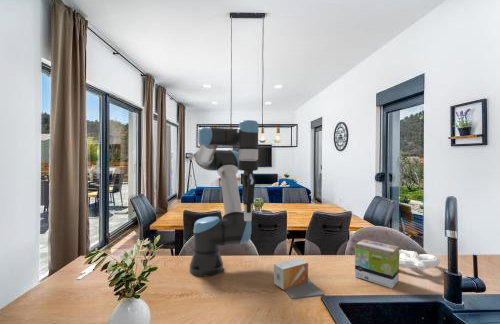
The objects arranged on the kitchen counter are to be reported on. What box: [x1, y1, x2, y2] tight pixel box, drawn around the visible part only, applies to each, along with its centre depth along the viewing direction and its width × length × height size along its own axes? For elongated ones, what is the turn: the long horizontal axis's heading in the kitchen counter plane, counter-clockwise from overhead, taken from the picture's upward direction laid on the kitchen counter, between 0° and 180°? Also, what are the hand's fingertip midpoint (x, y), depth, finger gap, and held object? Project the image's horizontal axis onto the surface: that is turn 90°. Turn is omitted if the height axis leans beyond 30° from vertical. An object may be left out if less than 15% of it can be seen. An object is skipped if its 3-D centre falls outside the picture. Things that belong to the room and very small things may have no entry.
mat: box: [284, 277, 325, 299], centre depth 102 cm, size 15×13×1 cm
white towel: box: [399, 248, 441, 271], centre depth 125 cm, size 28×24×6 cm
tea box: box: [354, 238, 400, 289], centre depth 110 cm, size 15×10×15 cm, turn 47°
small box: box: [273, 257, 309, 291], centre depth 105 cm, size 8×6×13 cm
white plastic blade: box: [76, 264, 96, 280], centre depth 115 cm, size 5×15×1 cm, turn 0°
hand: (247, 220), depth 101 cm, fingers closed
